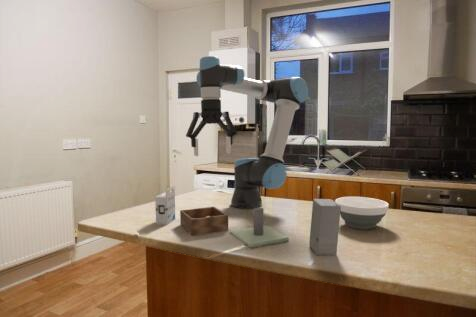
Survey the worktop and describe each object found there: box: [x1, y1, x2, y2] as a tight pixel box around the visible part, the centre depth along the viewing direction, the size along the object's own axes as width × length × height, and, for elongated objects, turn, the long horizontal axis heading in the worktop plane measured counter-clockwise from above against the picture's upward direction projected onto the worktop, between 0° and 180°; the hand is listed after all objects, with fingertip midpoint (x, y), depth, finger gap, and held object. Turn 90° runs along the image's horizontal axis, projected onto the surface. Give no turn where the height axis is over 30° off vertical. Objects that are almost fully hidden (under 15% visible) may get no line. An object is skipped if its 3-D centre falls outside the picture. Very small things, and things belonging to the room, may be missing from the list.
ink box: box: [154, 185, 176, 226], centre depth 133 cm, size 9×5×15 cm, turn 168°
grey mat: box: [244, 240, 289, 249], centre depth 116 cm, size 15×15×1 cm
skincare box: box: [308, 198, 341, 256], centre depth 104 cm, size 8×7×16 cm
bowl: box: [334, 196, 389, 231], centre depth 130 cm, size 20×20×10 cm
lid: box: [229, 207, 290, 248], centre depth 116 cm, size 15×15×10 cm
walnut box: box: [179, 206, 229, 237], centre depth 125 cm, size 14×14×6 cm
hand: (212, 154), depth 130 cm, fingers open, 13 cm apart
